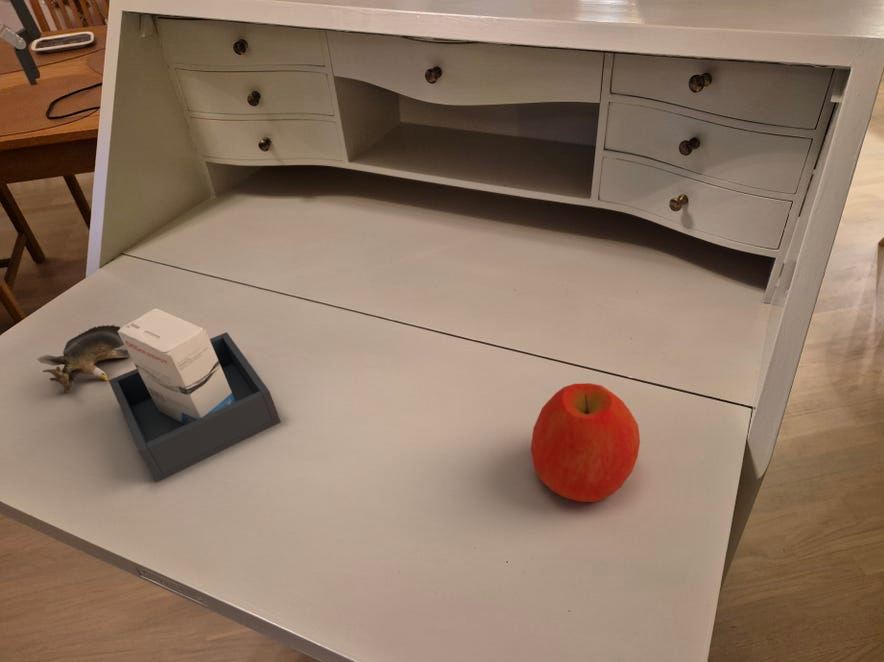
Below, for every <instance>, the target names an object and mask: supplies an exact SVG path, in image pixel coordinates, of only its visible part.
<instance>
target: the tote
mask: <svg viewBox="0 0 884 662" xmlns="http://www.w3.org/2000/svg"><path fill="white" fill-rule="evenodd" d="M209 339H210V342H211V344H212V346H213V349H214V351H215V354H216V356H217V358H218V361H219V363H220V365H221V368H222V370H223V372H224V375H225V377H226V380H227V382H228V385H229V387H230V389H231V392H232V394H233V396H234V399H235V401H236V402H235V403H232V404H230V405H228V406H226V407H224V408H221V409H219V410H217V411H215V412H213V413H211V414H208V415H206V416H204V417H202V418H200V419H197V420H195V421H193V422H191V423H189V424H187V425H185V424H183V423H181V422H179V421H177V420H175V419H173V418H171V417H169V416H167V415H165V414H163V413H161V412H159V410H158V408H157V407H156V405H155V403H154V401H153V399H152V397H151V395H150V393H149V391H148V389H147V387H146V385H145V383H144V381H143V379H142V377H141V375H140V373H139V372H138V370H137V368H135V369H133V370H130V371H127V372H125V373H123V374H120V375H117V376H115V377H113V378H111V379H108V382H109V384H110V387H111V389H112V391H113V394H114V396H115V399H116V401H117V404H118V405H119V408H120V410H121V412H122V415H123V417H124V419H125V423H126V424H127V426H128V429H129V431H130V435H131V436H132V439H133V441H134V443H135V446H136V448H137V450H138V452H139V454H140V456H141V458H142V459H143V460H144V463H145V464H146V466H147V468H148V469H149V472H151V474H152V476H153V477H154V479H155V481H156V482H157V483H159V482H161V481H163V480H165V479H167V478H169V477H171V476H173V475H175V474H178V473H179V472H181V471H184V470H185V469H188V468H190V467H192V466H194V465H196V464H198V463H201V462H202V461H204V460H207V459H209V458H210V457H213V456H214V455H216V454H219V453H221V452H223V451H225V450H227V449H229V448H231V447H233V446H236V445H237V444H239V443H242V442H243V441H245V440H247V439H249V438H252V437H253V436H256V435H257V434H260V433H261V432H263V431H266V430H269V429H270V428H272V427H275V426H276V425H278V424H280V423H281V422H282V421H281V419H280V416H279V413H278V411H277V408H276V405H275V402H274V400H273V397H272V394H271V391H270V389H269V388H268V387H267V385H266V384H265V383H264V381H263V380H262V379H261V377H260V375H258V373H257V372H256V370H255V369H254V368H253V366H252V365H251V363H250V362H249V361H248V359H247V357H246V356H245V355H244V354H243V352H242V351H241V350H240V348H239V347H238V346H237V344H236V343H235V341H234V340H233V339H232V337H231V336H230V335H229V333H228V332H227V331H226V332H223V333H220V334H218V335H216V336H213V337H211V338H209Z"/></svg>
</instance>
